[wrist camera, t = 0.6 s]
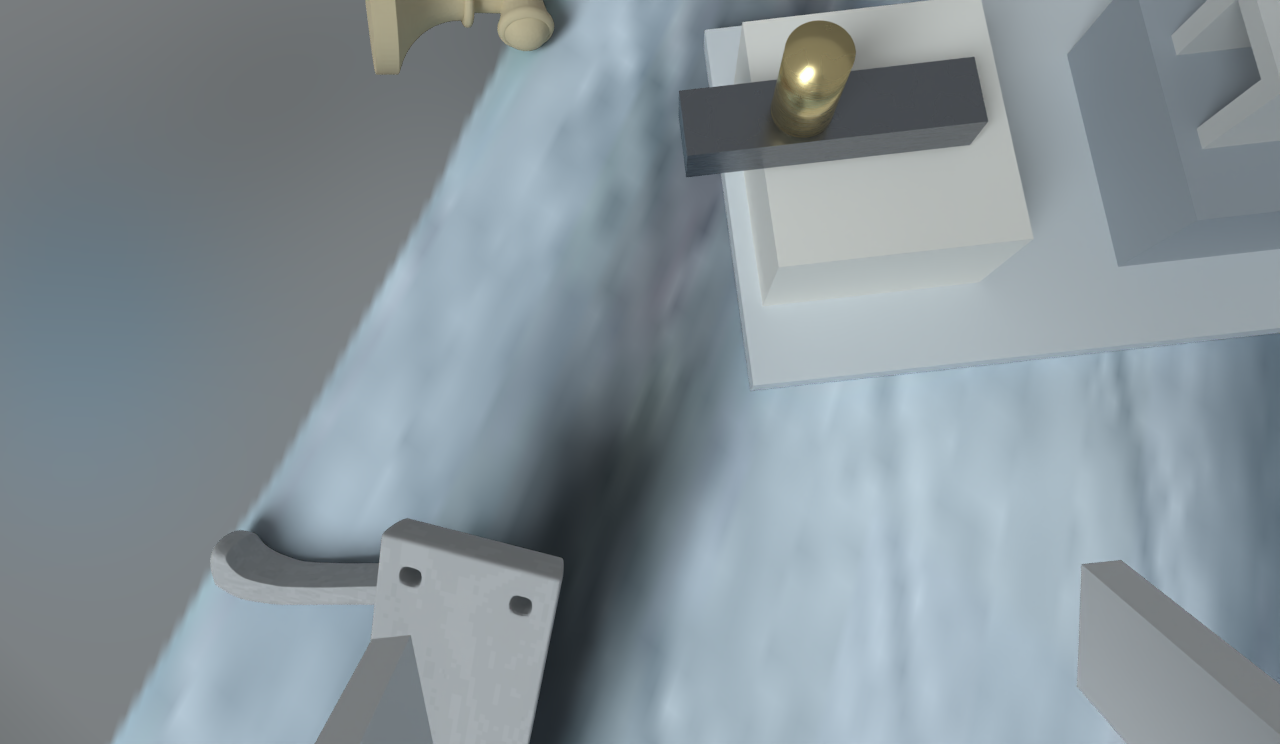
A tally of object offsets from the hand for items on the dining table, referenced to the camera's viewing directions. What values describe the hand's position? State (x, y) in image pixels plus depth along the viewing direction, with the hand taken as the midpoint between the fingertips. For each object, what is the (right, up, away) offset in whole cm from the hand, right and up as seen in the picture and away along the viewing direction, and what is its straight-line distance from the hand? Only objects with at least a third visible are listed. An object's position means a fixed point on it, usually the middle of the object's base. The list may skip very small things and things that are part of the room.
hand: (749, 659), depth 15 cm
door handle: (-15, -10, +23) cm, 29 cm away
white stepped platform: (+17, +16, +27) cm, 36 cm away
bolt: (+6, +16, +19) cm, 26 cm away
